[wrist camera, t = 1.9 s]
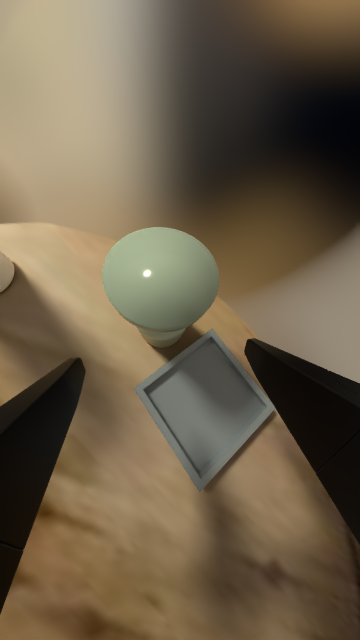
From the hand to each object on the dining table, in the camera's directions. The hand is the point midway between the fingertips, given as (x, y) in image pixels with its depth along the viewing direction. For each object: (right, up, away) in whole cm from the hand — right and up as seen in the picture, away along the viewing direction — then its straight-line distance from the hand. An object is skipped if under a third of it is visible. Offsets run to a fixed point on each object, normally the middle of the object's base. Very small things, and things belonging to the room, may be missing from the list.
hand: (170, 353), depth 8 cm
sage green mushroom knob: (-2, +1, +12) cm, 12 cm away
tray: (+3, -7, +10) cm, 13 cm away
